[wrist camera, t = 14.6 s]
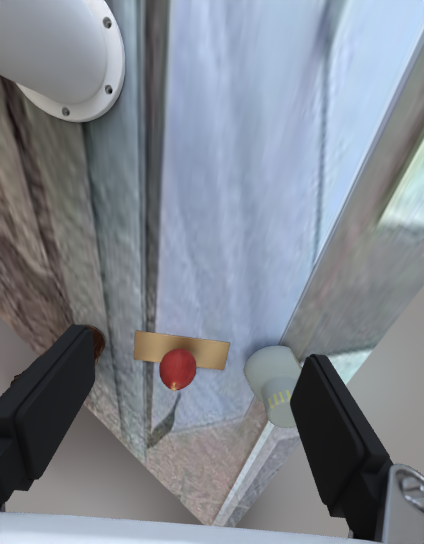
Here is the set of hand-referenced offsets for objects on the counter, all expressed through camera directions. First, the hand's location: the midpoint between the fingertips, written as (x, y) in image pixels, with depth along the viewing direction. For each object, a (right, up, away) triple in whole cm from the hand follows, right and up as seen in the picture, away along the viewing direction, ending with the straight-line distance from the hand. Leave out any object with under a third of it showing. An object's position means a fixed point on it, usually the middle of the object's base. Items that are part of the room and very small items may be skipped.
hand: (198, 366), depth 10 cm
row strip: (-5, -10, +30) cm, 32 cm away
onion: (-5, -10, +30) cm, 32 cm away
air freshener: (+11, -12, +31) cm, 35 cm away
